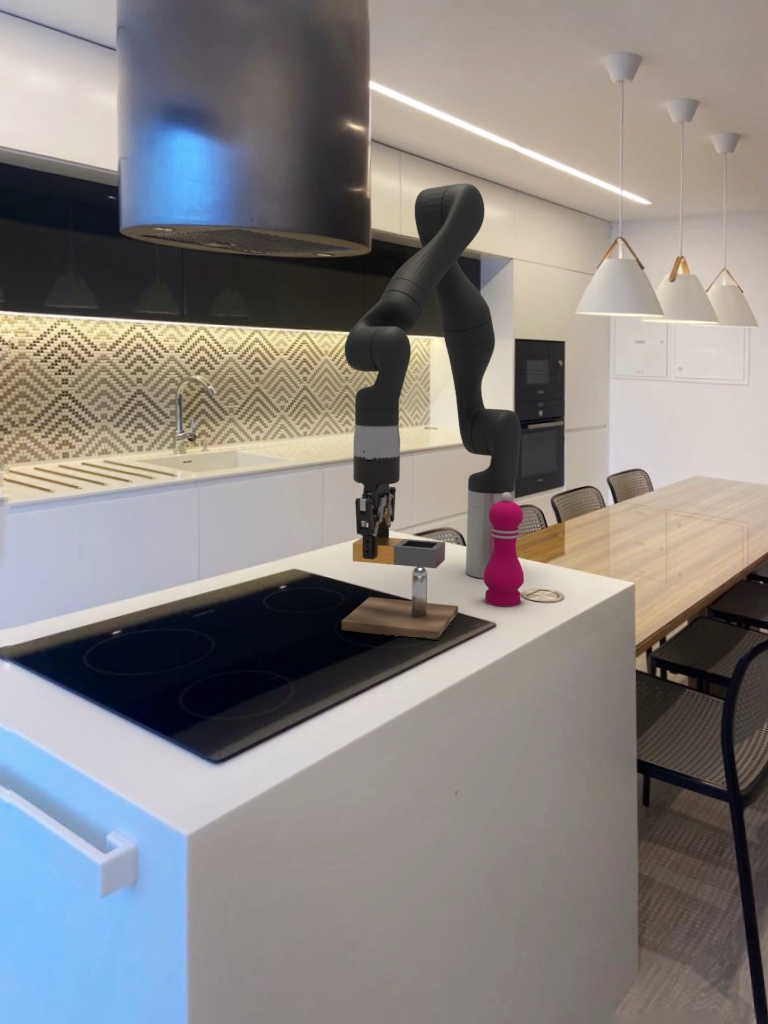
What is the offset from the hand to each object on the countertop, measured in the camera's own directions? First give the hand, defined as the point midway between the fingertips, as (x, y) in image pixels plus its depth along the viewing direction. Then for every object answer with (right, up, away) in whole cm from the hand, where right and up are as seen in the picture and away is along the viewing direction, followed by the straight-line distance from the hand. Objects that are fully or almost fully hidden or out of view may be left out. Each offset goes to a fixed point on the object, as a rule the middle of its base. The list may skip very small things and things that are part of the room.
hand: (375, 553), depth 136 cm
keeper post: (+7, -10, 0) cm, 12 cm away
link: (+4, -1, -1) cm, 4 cm away
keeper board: (+4, -11, +1) cm, 12 cm away
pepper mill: (+23, -10, +13) cm, 28 cm away
